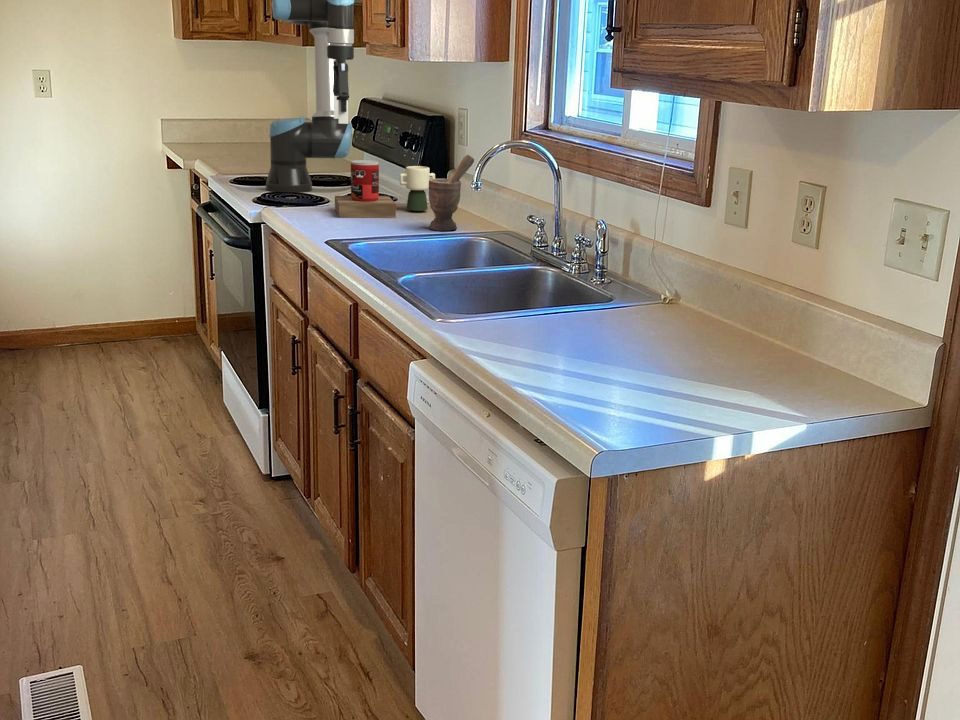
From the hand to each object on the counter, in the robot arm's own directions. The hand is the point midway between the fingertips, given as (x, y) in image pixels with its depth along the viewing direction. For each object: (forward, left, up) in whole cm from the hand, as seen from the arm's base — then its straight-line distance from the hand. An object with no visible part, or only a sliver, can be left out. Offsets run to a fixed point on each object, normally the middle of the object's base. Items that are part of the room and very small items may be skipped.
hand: (340, 121), depth 292 cm
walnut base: (+9, +6, -26) cm, 28 cm away
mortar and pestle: (+36, +26, -26) cm, 51 cm away
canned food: (+10, +6, -22) cm, 24 cm away
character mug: (+5, +22, -26) cm, 34 cm away
